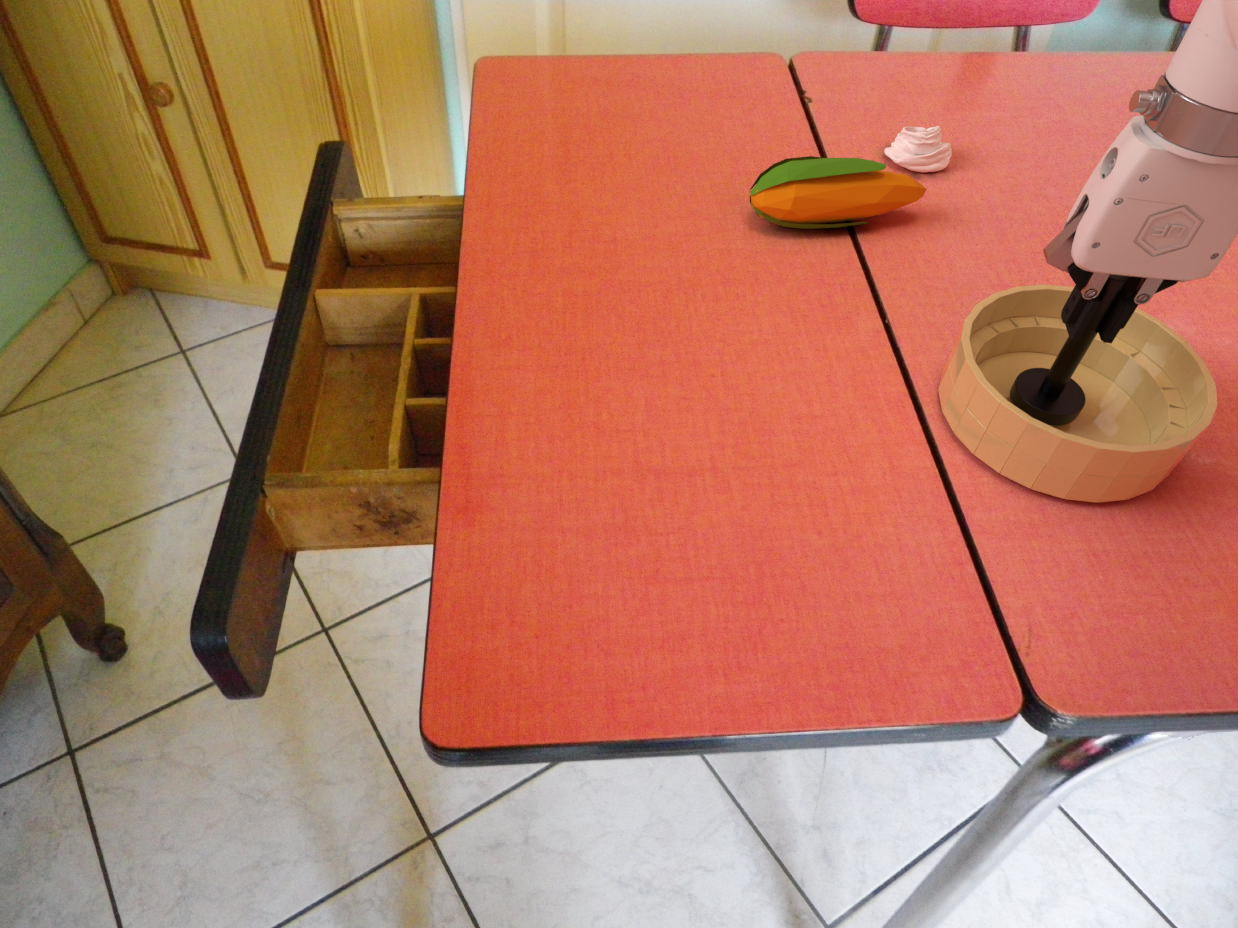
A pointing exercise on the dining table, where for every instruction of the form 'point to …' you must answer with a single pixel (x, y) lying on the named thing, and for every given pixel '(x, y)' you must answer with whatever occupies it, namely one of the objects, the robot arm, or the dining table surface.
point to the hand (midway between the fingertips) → (1086, 329)
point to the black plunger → (1064, 370)
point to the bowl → (1114, 391)
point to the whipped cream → (920, 149)
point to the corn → (829, 191)
